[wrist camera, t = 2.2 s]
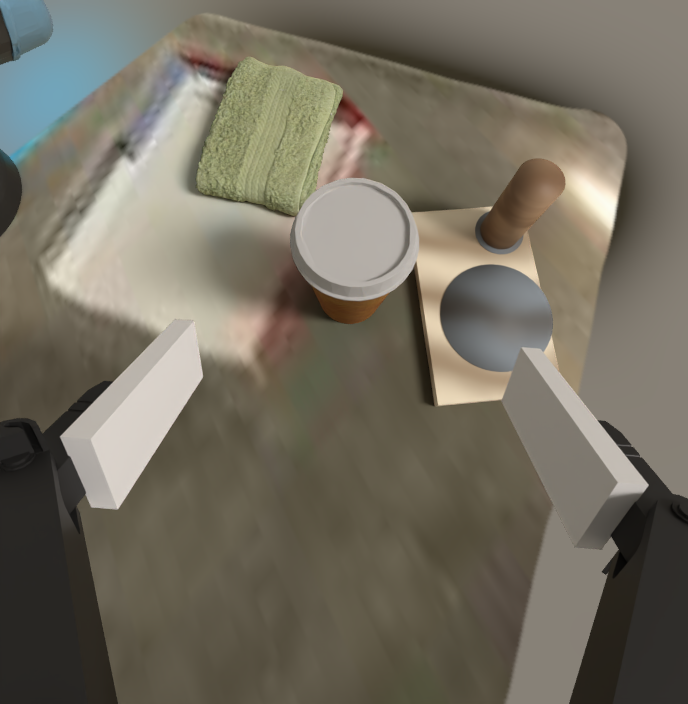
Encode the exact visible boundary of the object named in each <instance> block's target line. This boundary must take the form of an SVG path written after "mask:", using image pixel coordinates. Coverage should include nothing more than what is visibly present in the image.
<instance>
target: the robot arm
mask: <svg viewBox="0 0 688 704" xmlns="http://www.w3.org/2000/svg"><path fill="white" fill-rule="evenodd" d="M52 32H53V22H52V18H51V15H50V13H49V11H48V9H47V7H46V5H45V3H44V1H43V0H0V65H1V64H3V63H6V62H9V61H15V60H18V59H19V58H20V55H22V54H24V53H26V52H28V51H30V50H32V49H34V48H36V47H39V46H41V45H43V44H45V43H46V42H47V41H48V40H49V39H50V37H51V35H52ZM21 194H22V185H21V178H20V175H19V172H18V169H17V167H16V166H15V164H14V162H13V161H12V160H11V159H10V157H9V156H8V155H7V154H5V153H4V152H3V151H2V150H1V149H0V236H1V235H2V234H3V233H4V232H5V231H6V229H7V228H8V227H9V225H10V224H11V222H12V221H13V219H14V217H15V215H16V213H17V210H18V208H19V205H20V201H21ZM202 378H203V374H202V367H201V361H200V354H199V348H198V342H197V335H196V329H195V323H194V321H193V320H181V319H175V320H174V321H173V322H172V323H171V324H170V325H169V326H168V327H167V328H166V329H165V330H164V331H163V332H162V333H161V334H160V335H159V336H158V337H157V338H156V339H155V340H154V341H153V342H152V343H151V344H150V345H149V346H148V347H147V348H146V349H145V350H144V351H143V352H142V353H141V354H140V355H139V356H138V357H137V358H136V359H135V361H134V362H133V363H132V364H131V365H130V366H129V367H128V368H127V369H126V370H125V371H124V372H123V373H122V374H121V375H120V376H119V377H118V378H117V379H116V380H115V381H114V382H110V381H103V382H102V383H100V384H98V385H96V386H94V387H93V388H91V389H89V390H88V391H87V392H86V393H85V394H84V395H83V396H82V397H80V398H79V399H78V400H77V403H74V404H73V405H72V406H71V407H70V408H69V409H68V412H67V411H66V412H65V413H64V414H63V415H62V416H61V417H60V418H59V419H57V420H56V421H55V422H54V423H53V424H52V425H51V426H50V427H49V428H48V429H47V430H46V431H45V432H44V433H43V434H42V433H41V431H40V428H39V426H38V425H37V423H36V422H35V421H33V420H31V419H28V418H17V419H12V420H7V421H3V422H0V704H118V702H117V697H116V692H115V687H114V682H113V677H112V672H111V667H110V662H109V657H108V652H107V647H106V642H105V637H104V632H103V627H102V622H101V617H100V612H99V607H98V602H97V597H96V592H95V587H94V582H93V577H92V572H91V567H90V562H89V557H88V552H87V547H86V542H85V537H84V532H83V527H82V522H81V517H80V512H79V510H78V508H77V504H78V503H79V502H80V500H81V499H82V498H83V496H84V495H85V494H86V496H87V499H88V501H89V503H90V505H91V507H95V508H107V509H118V508H119V507H120V505H121V504H122V502H123V501H124V499H125V498H126V496H127V494H128V493H129V491H130V490H131V488H132V487H133V485H134V483H135V482H136V480H137V479H138V477H139V476H140V474H141V473H142V471H143V469H144V468H145V466H146V465H147V463H148V462H149V460H150V459H151V457H152V455H153V454H154V452H155V451H156V449H157V448H158V446H159V445H160V443H161V441H162V440H163V438H164V437H165V435H166V434H167V432H168V431H169V429H170V427H171V426H172V424H173V423H174V421H175V420H176V418H177V417H178V415H179V413H180V412H181V410H182V409H183V407H184V406H185V404H186V403H187V401H188V399H189V398H190V396H191V395H192V393H193V392H194V390H195V389H196V387H197V385H198V384H199V382H200V381H201V379H202ZM502 403H503V405H504V407H505V409H506V411H507V413H508V415H509V417H510V419H511V421H512V423H513V425H514V427H515V429H516V431H517V433H518V435H519V437H520V439H521V441H522V443H523V445H524V447H525V449H526V451H527V453H528V455H529V457H530V459H531V461H532V463H533V465H534V467H535V469H536V471H537V473H538V475H539V477H540V479H541V481H542V483H543V485H544V487H545V489H546V491H547V493H548V495H549V497H550V499H551V501H552V503H553V505H554V507H555V509H556V511H557V513H558V515H559V517H560V519H561V521H562V523H563V525H564V527H565V529H566V531H567V533H568V535H569V537H570V539H571V541H572V543H573V545H574V547H576V548H588V549H600V550H601V549H602V548H603V547H604V545H605V544H606V543H607V541H608V540H609V539H610V537H612V538H613V540H614V542H615V544H616V545H617V547H618V549H619V550H618V551H617V553H616V554H615V555H614V557H613V558H612V559H611V560H610V562H609V563H608V564H607V566H606V567H605V568H604V569H603V571H602V572H603V573H604V574H607V573H608V572H609V573H608V576H607V579H606V583H605V587H604V589H603V593H602V596H601V599H600V603H599V606H598V609H597V613H596V616H595V620H594V623H593V626H592V630H591V633H590V636H589V639H588V643H587V646H586V649H585V653H584V656H583V659H582V663H581V666H580V670H579V673H578V676H577V680H576V683H575V686H574V689H573V693H572V696H571V699H570V703H569V704H688V499H687V498H685V497H682V496H680V495H675V494H672V493H671V491H670V490H669V489H668V488H667V487H666V485H665V484H664V483H663V482H662V481H661V480H660V478H659V477H658V476H657V475H656V474H655V472H654V471H653V470H652V469H651V468H650V466H649V465H648V464H647V463H646V462H645V460H644V459H643V458H640V455H639V453H638V452H637V451H636V450H635V449H634V448H633V447H631V444H630V443H629V442H628V440H627V439H626V438H625V437H624V436H623V434H622V433H621V432H620V431H618V430H617V429H616V428H614V427H613V426H612V425H610V424H609V423H608V422H606V421H599V420H597V419H596V418H595V417H594V416H593V415H592V413H591V412H590V411H589V409H588V408H587V407H586V406H585V404H584V403H583V402H582V401H581V399H580V398H579V397H578V395H577V394H576V393H575V392H574V390H573V389H572V388H571V387H570V385H569V384H568V383H567V382H566V380H565V379H564V378H563V377H562V375H561V374H560V373H559V372H558V370H557V369H556V368H555V367H554V365H553V364H552V363H551V362H550V360H549V359H548V358H547V356H546V355H545V354H544V353H543V351H542V350H541V349H538V348H526V347H521V349H520V352H519V354H518V357H517V360H516V363H515V365H514V368H513V371H512V373H511V376H510V379H509V382H508V384H507V387H506V390H505V393H504V395H503V398H502Z"/></svg>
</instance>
